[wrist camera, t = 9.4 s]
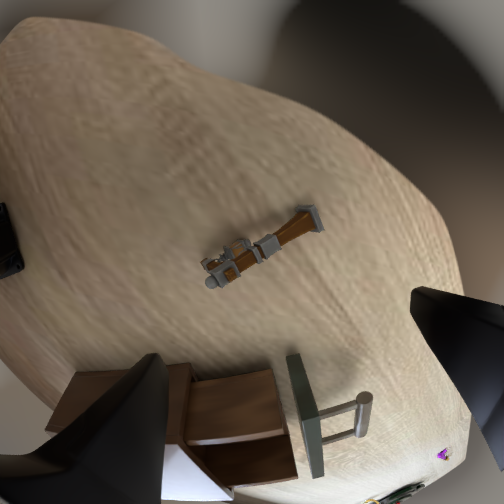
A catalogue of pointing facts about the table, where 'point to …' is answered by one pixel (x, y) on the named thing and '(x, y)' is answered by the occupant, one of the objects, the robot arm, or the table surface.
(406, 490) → the clover-shaped pad
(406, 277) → the table surface
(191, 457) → the cabinet
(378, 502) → the ring
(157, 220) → the table surface
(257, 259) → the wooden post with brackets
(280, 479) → the drawer
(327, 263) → the table surface
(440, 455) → the purple and gold rod
